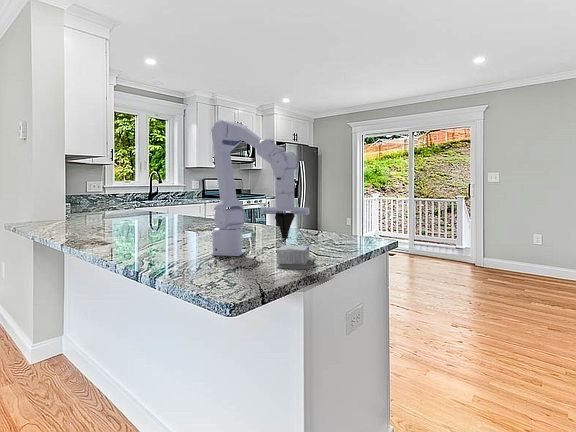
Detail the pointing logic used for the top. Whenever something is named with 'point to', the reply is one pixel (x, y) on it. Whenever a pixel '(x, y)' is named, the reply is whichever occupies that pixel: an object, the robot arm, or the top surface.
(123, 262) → the top surface
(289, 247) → the medicine box
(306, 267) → the slate mat
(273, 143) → the robot arm
